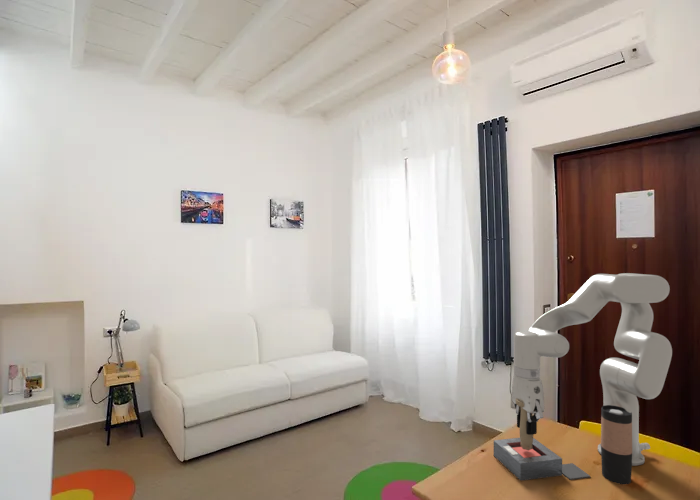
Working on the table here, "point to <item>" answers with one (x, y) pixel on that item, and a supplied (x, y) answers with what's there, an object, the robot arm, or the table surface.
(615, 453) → the travel mug
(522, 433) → the handle
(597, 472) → the table surface
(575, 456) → the table surface
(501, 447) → the grey shallow box
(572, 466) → the mat
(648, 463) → the table surface
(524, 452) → the button
